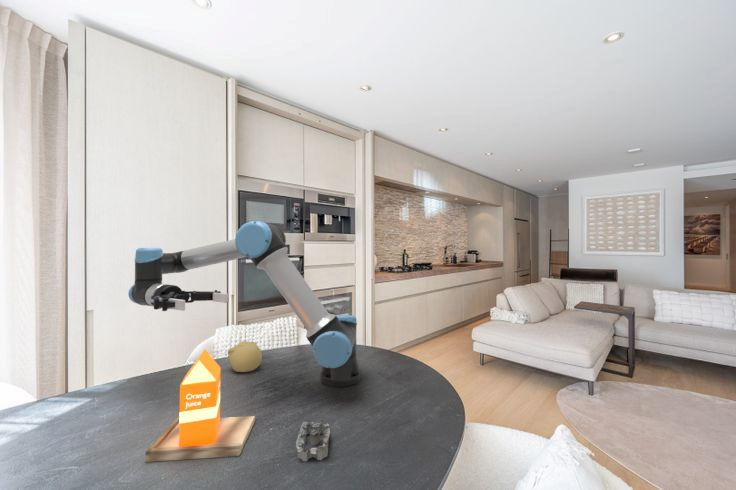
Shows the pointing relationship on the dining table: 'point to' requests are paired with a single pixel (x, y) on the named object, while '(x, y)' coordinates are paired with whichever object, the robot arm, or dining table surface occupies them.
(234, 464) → the dining table surface
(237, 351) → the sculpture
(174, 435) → the serving board
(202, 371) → the orange juice
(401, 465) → the dining table surface
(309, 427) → the egg carton
